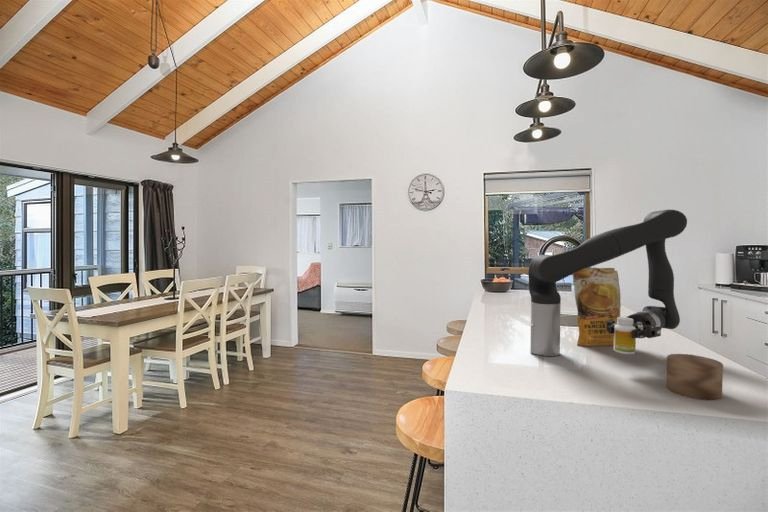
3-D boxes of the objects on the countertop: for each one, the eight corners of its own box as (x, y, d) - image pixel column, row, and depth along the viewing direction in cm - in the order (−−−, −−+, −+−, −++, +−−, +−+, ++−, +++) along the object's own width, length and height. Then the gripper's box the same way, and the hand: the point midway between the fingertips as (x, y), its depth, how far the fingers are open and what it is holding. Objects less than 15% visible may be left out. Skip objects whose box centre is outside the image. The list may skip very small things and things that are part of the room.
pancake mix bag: (566, 342, 144) (567, 267, 143) (615, 340, 146) (616, 266, 145) (577, 347, 138) (578, 268, 136) (627, 345, 139) (629, 268, 138)
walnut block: (674, 396, 95) (675, 364, 94) (660, 381, 105) (661, 352, 105) (730, 403, 91) (731, 369, 90) (710, 386, 101) (711, 356, 101)
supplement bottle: (638, 355, 108) (639, 320, 108) (617, 353, 109) (618, 319, 109) (630, 349, 114) (631, 316, 113) (610, 348, 115) (611, 316, 114)
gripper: (617, 308, 126) (595, 315, 115) (670, 315, 114) (651, 323, 104) (616, 331, 126) (594, 340, 115) (669, 340, 115) (650, 351, 104)
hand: (621, 332), depth 110 cm, fingers closed on supplement bottle, 5 cm apart
